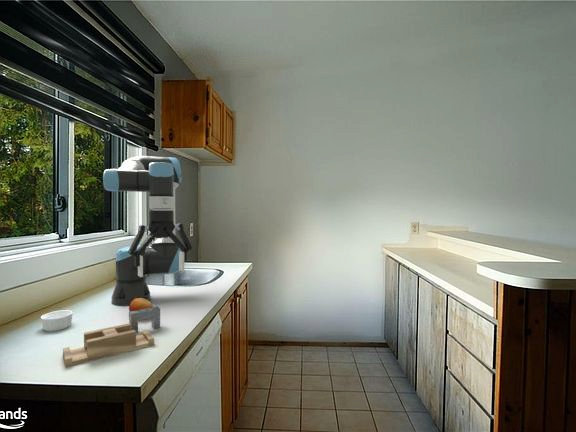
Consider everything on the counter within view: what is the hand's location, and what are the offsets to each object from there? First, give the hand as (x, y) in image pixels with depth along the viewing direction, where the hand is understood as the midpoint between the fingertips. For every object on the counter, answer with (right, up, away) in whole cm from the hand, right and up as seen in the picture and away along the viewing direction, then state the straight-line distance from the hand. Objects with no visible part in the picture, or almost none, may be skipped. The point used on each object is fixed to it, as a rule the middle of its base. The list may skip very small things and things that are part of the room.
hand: (161, 273), depth 109 cm
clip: (-6, -19, 0) cm, 20 cm away
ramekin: (-36, -19, +2) cm, 41 cm away
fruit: (-12, -18, +12) cm, 25 cm away
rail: (-9, -19, -15) cm, 26 cm away
